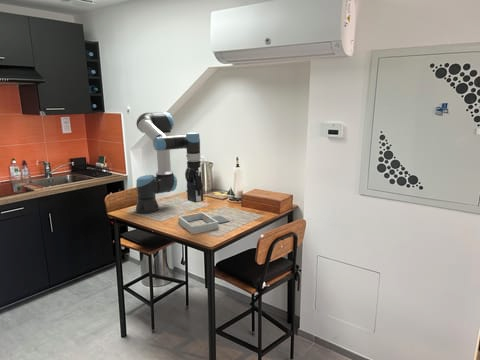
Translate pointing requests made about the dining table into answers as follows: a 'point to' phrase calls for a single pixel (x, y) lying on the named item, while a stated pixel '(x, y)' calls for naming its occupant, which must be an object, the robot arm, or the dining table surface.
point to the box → (193, 192)
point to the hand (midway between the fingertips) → (195, 199)
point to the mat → (220, 219)
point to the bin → (209, 226)
